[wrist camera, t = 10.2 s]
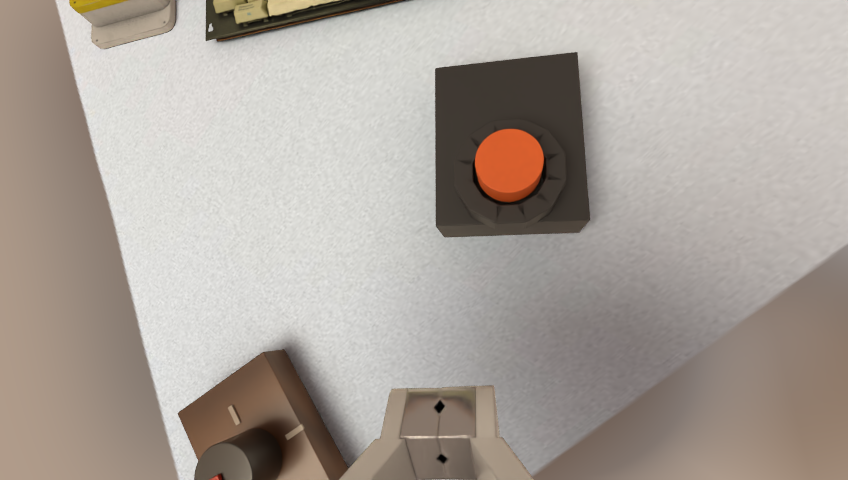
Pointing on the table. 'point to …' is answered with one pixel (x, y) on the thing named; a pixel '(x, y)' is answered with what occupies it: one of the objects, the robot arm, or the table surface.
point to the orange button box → (510, 109)
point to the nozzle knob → (242, 458)
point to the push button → (509, 164)
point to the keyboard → (273, 14)
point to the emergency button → (125, 19)
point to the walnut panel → (267, 417)
